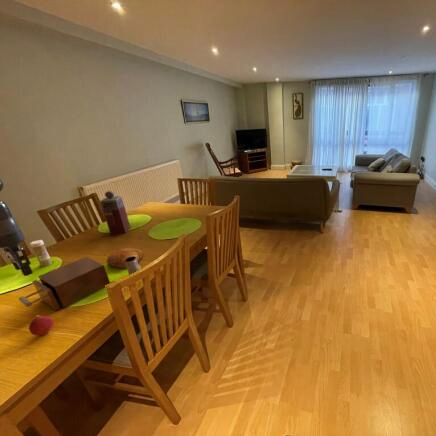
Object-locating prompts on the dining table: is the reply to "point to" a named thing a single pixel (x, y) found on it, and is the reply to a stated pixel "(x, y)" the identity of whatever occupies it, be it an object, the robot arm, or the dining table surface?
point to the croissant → (123, 257)
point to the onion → (41, 325)
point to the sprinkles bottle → (41, 253)
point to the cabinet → (76, 280)
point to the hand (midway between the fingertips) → (24, 271)
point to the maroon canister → (115, 213)
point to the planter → (131, 265)
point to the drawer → (43, 295)
